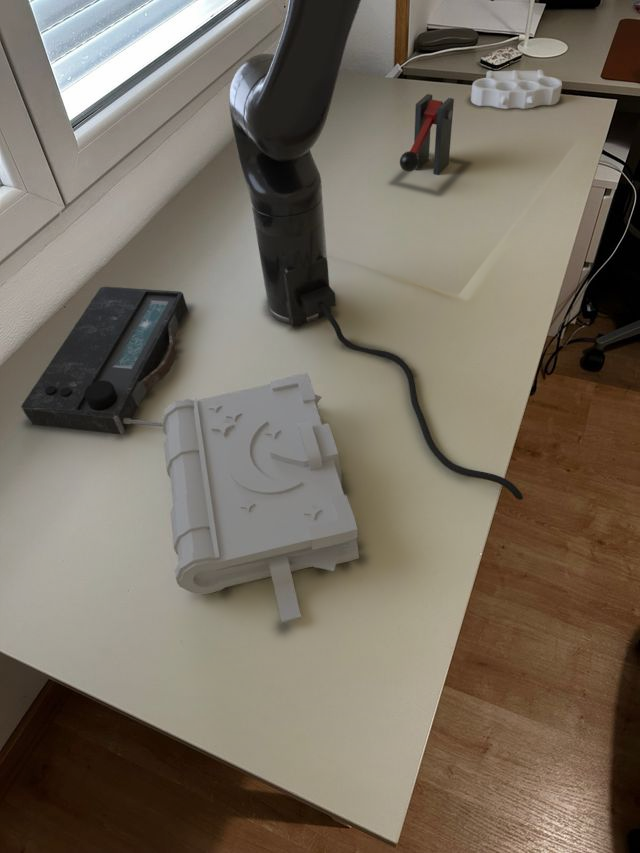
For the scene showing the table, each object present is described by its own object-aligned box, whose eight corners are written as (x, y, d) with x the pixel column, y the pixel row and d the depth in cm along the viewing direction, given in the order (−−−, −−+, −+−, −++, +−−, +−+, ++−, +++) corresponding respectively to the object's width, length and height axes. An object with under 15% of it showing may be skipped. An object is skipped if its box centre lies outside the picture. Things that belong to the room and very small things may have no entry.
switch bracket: (438, 194, 113) (443, 120, 104) (393, 183, 117) (394, 111, 107) (467, 163, 120) (474, 91, 110) (423, 154, 123) (426, 83, 114)
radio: (98, 279, 96) (225, 287, 93) (107, 302, 100) (231, 311, 96) (15, 401, 80) (165, 417, 77) (29, 424, 84) (174, 440, 80)
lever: (415, 177, 110) (411, 165, 107) (398, 173, 111) (394, 161, 108) (447, 113, 111) (444, 99, 108) (430, 110, 112) (427, 96, 109)
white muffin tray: (555, 81, 140) (561, 111, 131) (470, 83, 143) (470, 112, 133) (558, 65, 138) (565, 94, 128) (472, 67, 140) (472, 95, 131)
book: (190, 650, 62) (170, 615, 56) (168, 436, 80) (152, 394, 75) (382, 601, 64) (382, 563, 58) (319, 403, 82) (314, 359, 77)
